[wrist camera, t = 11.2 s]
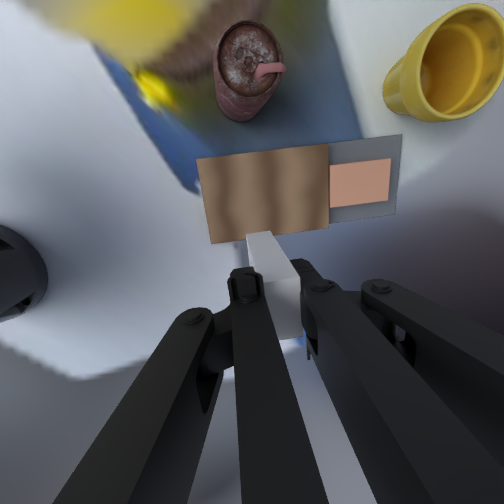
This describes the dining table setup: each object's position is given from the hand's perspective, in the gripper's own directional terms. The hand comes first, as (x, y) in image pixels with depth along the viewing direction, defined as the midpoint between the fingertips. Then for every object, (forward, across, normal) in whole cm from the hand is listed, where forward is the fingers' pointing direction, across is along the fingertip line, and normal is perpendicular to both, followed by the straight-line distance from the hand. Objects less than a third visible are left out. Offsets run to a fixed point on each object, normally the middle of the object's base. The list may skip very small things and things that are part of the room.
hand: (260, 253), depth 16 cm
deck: (+24, +4, 0) cm, 25 cm away
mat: (+24, +19, 0) cm, 31 cm away
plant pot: (+25, +25, +12) cm, 37 cm away
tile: (+24, +18, 0) cm, 30 cm away
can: (+25, +2, +13) cm, 28 cm away
